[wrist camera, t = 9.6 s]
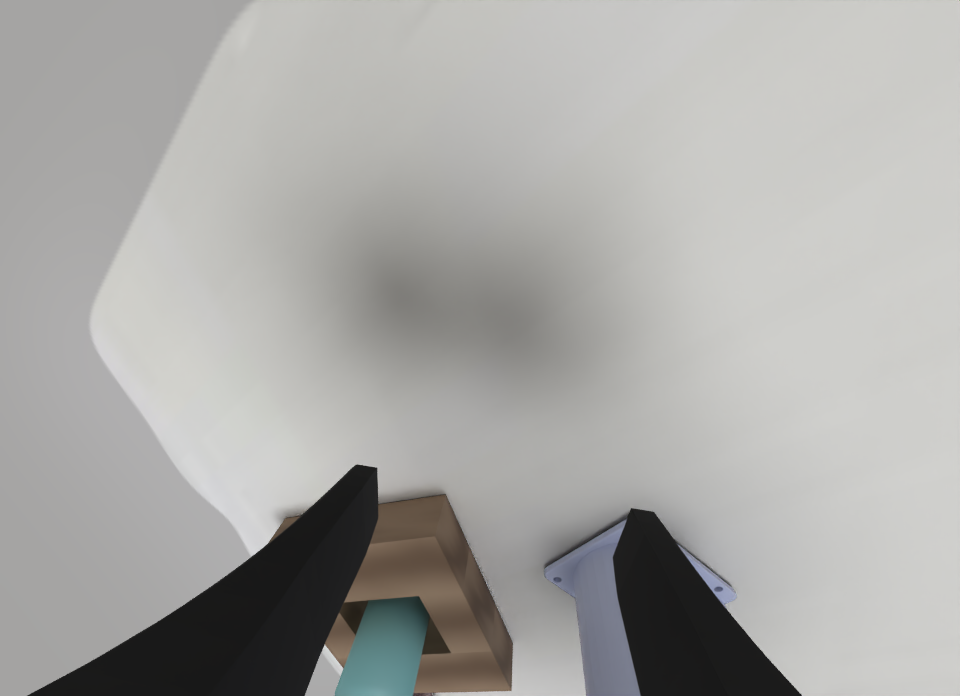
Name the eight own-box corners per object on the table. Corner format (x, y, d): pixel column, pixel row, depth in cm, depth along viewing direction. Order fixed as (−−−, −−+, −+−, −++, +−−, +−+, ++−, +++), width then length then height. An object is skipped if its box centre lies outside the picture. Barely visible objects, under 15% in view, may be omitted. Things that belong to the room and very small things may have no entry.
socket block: (512, 643, 30) (511, 690, 27) (377, 650, 32) (363, 694, 30) (445, 494, 24) (435, 536, 21) (285, 518, 26) (258, 557, 24)
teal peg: (447, 586, 28) (424, 708, 21) (412, 609, 29) (380, 729, 23) (400, 555, 27) (361, 672, 20) (366, 580, 28) (320, 697, 22)
